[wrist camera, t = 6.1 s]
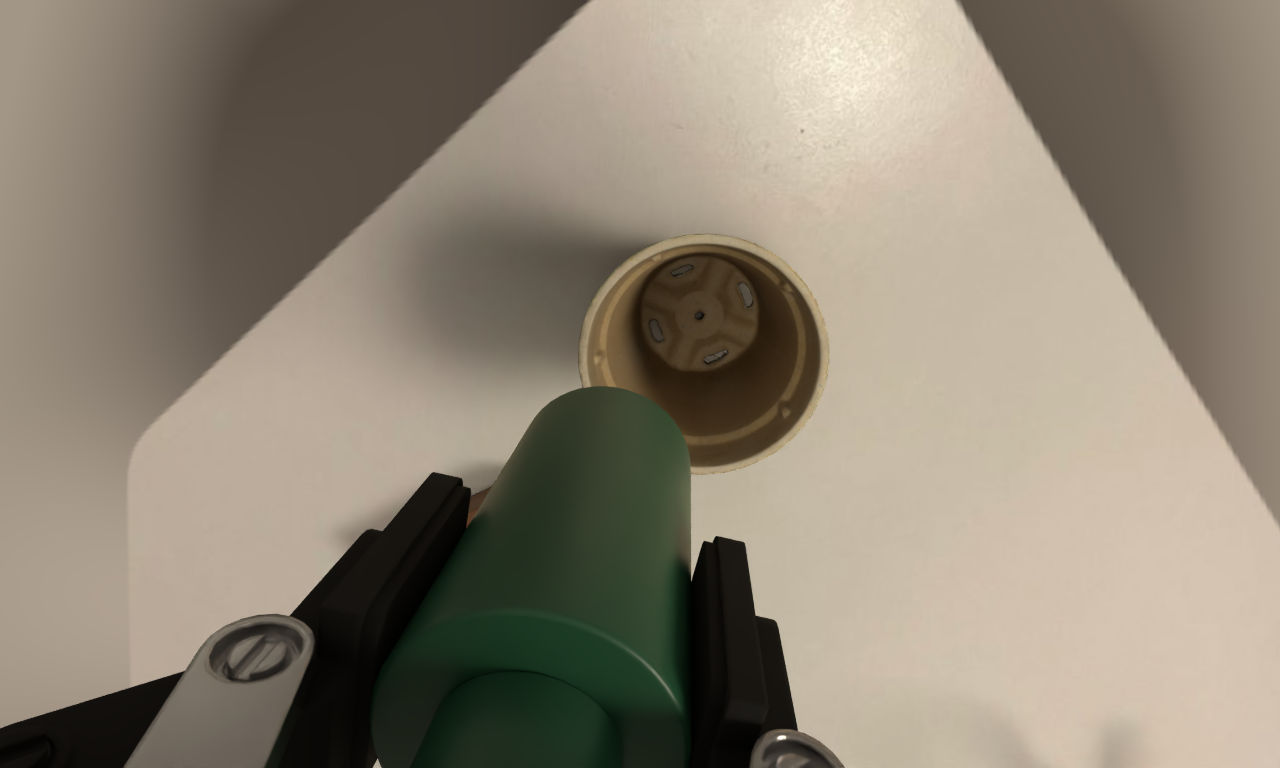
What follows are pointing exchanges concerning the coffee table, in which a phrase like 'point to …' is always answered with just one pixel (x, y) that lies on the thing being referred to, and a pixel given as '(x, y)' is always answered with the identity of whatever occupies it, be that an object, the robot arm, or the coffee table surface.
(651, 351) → the flower pot
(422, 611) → the bottle
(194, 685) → the robot arm
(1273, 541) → the coffee table surface
